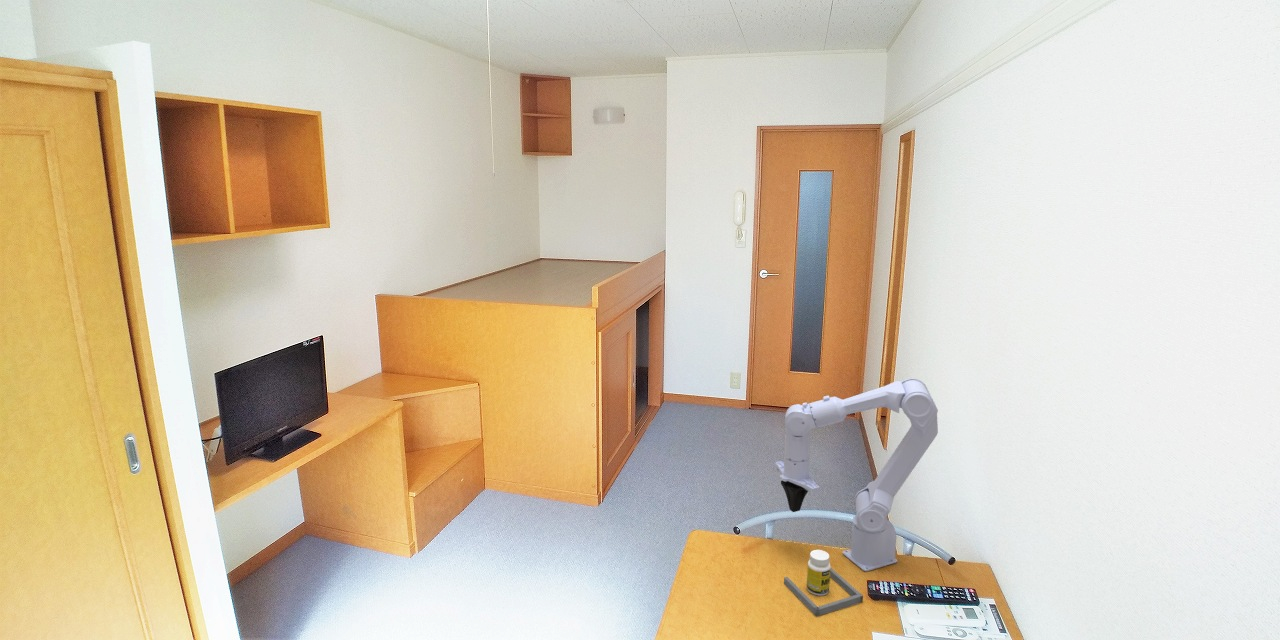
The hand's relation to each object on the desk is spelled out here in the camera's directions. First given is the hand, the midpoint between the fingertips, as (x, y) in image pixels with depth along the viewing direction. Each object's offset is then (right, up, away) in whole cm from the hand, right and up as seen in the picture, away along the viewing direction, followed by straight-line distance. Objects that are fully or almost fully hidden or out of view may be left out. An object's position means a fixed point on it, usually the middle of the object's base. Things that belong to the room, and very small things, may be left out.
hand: (794, 510), depth 149 cm
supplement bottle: (+2, -14, -12) cm, 18 cm away
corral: (+3, -14, -13) cm, 19 cm away
